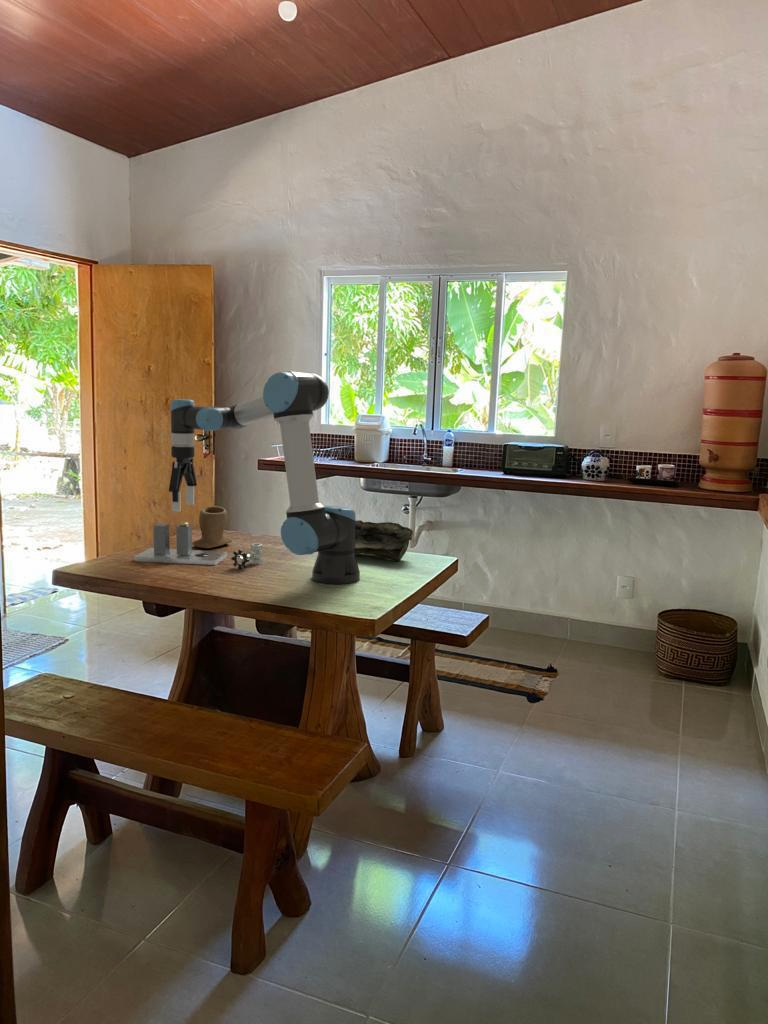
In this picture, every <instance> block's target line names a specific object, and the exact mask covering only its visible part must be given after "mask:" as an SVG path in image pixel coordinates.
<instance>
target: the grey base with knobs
mask: <svg viewBox="0 0 768 1024" xmlns="http://www.w3.org/2000/svg"><path fill="white" fill-rule="evenodd" d="M152 527H153V547H150V548H147V549H146V550H144V551H142V552H140V553H139V554H136V555H134V556H133V561H134V562H141V563H142V562H143V563H144V562H146V563H160V564H161V563H162V564H163V563H167V564H181V565H182V564H186V565H204V566H205V565H206V566H217V564H220V562H221V561H223V560H224V559H225V558H226V557H228V551H220V550H200V549H199V550H198V549H197V550H196V549H192V553H191V554H189V555H177V548H171V547H170V544H171V543H170V523H156V524H153V526H152Z"/></svg>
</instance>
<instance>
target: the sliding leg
mask: <svg viewBox="0 0 768 1024" xmlns="http://www.w3.org/2000/svg"><path fill="white" fill-rule="evenodd" d="M175 530H176V549H177V555H189V554H191V553H192V550H193V544H192V542H193V525H192V524H189V522H187V521H183V522H180V523H179V524H178V525H177V526H176V527H175Z"/></svg>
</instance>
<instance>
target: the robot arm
mask: <svg viewBox="0 0 768 1024" xmlns="http://www.w3.org/2000/svg"><path fill="white" fill-rule="evenodd" d="M262 391H263V392H262V396H259V397H256V398H253V399H250V400H246V401H242V402H240V403H237V404H234V405H230V406H195V401H194V400H193V399H186V398H185V399H184V398H179V399H178V398H175V399H172V400H171V403H170V432H171V434H170V436H169V438H170V439H171V445H172V446H171V448H170V449H171V450H170V452H171V453H170V455H171V458H174V459H176V461H172V462H171V464H172V466H171V474H170V480H169V487H168V492H169V493H171V512H178V513H179V512H181V509H182V508H181V505H182V504H181V501H182V500H181V499H182V498H181V493H182V492H181V491H180V490H181V486H182V482H183V478H184V481H185V483H186V486H185V505H188V506H194V505H195V487H197V485H198V483H197V477H196V476H197V475H196V471H195V467H194V457H195V447H194V445H195V444H196V443H195V430H200V431H205V432H212V431H214V432H215V431H218V430H231V429H232V430H239V429H244V428H246V427H248V426H249V425H251V424H254V423H259V422H262V421H266V420H269V419H273V420H274V422H276V423H277V424H278V425H279V426H280V428H279V429H280V433H281V443H282V451H283V452H282V453H283V458H284V464H285V465H284V466H285V474H286V481H287V488H288V496H289V497H288V498H289V506H288V508H287V509H286V510H285V514H286V515H285V516H286V519H285V520H284V521H283V522H282V525H281V527H280V536H281V537H280V538H281V541H282V543H283V544H284V546H285V547H286V548H287V550H289V551H290V552H291V553H292V554H295V555H297V556H305V555H313V554H315V553H317V556H316V559H315V561H314V565H313V568H312V572H311V579H312V580H313V581H315V582H318V583H322V584H330V585H331V584H332V585H342V584H344V585H345V584H352V583H355V582H358V581H359V580H360V578H361V577H360V576H361V573H360V572H361V571H360V568H359V565H358V561H357V558H356V556H355V527H356V521H357V519H356V518H357V517H356V511H355V510H354V508H350V507H344V506H335V505H324V504H322V503H321V502H320V500H319V492H318V484H317V476H316V470H315V468H316V467H315V461H314V453H313V452H314V451H313V445H312V436H311V428H310V420H311V419H312V418H313V417H314V411H318V410H320V409H322V408H323V407H324V406H325V405H326V403H327V402H328V400H329V397H330V396H329V394H330V391H329V386H328V383H327V382H326V380H325V379H324V378H323V377H321V376H320V375H318V374H317V373H313V372H299V371H279V372H275V373H273V374H272V375H270V377H269V378H268V379H267V381H266V382H265V384H264V386H263V390H262Z"/></svg>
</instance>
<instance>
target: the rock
mask: <svg viewBox="0 0 768 1024" xmlns="http://www.w3.org/2000/svg"><path fill="white" fill-rule="evenodd" d="M410 541H413V530H412V528H409V527H407V526H403V525H401V524H400V523H396V522H391V521H388V522H387V521H386V522H385V521H384V522H371V521H363V520H356V527H355V557H356V556H357V555H360V554H363V555H370V556H375V557H376V558H377V559H384V560H391V561H395V562H398V563H399V562H400V561H401V560H402V559H403V557H404V555H406V552H407V550H408V548H409V545H410Z"/></svg>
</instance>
